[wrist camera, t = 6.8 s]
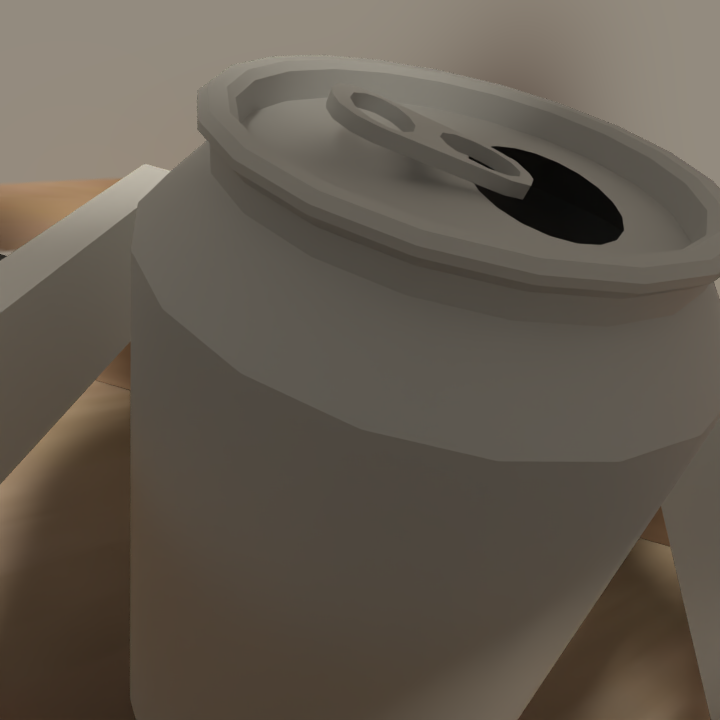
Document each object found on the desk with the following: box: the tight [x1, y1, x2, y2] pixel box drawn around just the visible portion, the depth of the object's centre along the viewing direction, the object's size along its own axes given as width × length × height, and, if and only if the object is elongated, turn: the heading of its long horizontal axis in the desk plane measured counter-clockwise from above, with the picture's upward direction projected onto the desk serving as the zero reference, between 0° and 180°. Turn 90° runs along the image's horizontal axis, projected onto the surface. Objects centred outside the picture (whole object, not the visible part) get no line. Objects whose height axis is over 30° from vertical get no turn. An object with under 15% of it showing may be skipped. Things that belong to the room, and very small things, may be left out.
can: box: [130, 55, 720, 720], centre depth 11 cm, size 8×8×12 cm
